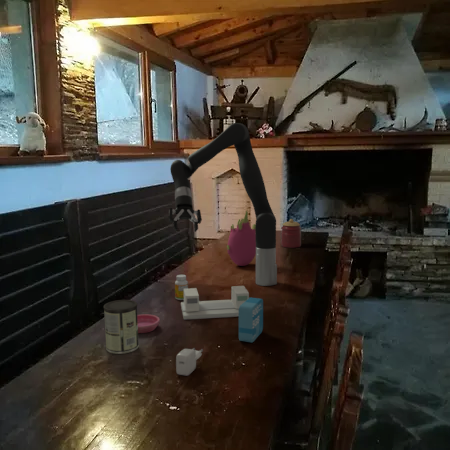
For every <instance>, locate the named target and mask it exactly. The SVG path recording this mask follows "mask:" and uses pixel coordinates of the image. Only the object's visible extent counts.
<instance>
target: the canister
mask: <svg viewBox="0 0 450 450" xmlns="http://www.w3.org/2000/svg"><path fill="white" fill-rule="evenodd" d="M280 232H281V233H280V246H281V247H282V248H289V249H290V248H291V249H293V248H300V247H301V246H302V227H301V224H300V223H299V222H297V221H294V219H293V218H290V219H289V221H285V222H283V223H282V226H281V231H280Z"/></svg>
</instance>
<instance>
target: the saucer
mask: <svg viewBox="0 0 450 450" xmlns="http://www.w3.org/2000/svg"><path fill="white" fill-rule="evenodd" d="M137 319H138V334H146V333H151V332H152V331H155V329H156V328H157V327H158V326H159V324H160V322H161V321H160V320H161V319H160V317H158V315H154V314H150V313H149V314H147V313H146V314H145V313H144V314H137Z"/></svg>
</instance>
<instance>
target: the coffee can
mask: <svg viewBox="0 0 450 450" xmlns="http://www.w3.org/2000/svg"><path fill="white" fill-rule="evenodd" d="M103 310H104V313H103V314H104V327H105V329H104V332H105V349H106V352H108V353H110V354H114V355H115V354H116V355H118V354H119V355H120V354H121V355H122V354H128V353H132V352H134V351H136V350H137V349H138V348H139V346H140V345H139V333H138V319H137V315H138V302H137V301H135V300H132V299H117V300H112V301H109V302H106V303H105V304H104V305H103Z"/></svg>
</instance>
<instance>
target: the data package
mask: <svg viewBox="0 0 450 450" xmlns="http://www.w3.org/2000/svg"><path fill="white" fill-rule="evenodd" d="M263 329H264V300H263V298H259V297H250V296H249V299H247V300H246V301H245V302H244V303H243V304H241V305H240V307H239V316H238V339H239V341H240V342H246V343H251V344H252V343H253V342H255V341H256V340H257V339H258V337H259V336H260V335H261V334H262V332H263Z"/></svg>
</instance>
